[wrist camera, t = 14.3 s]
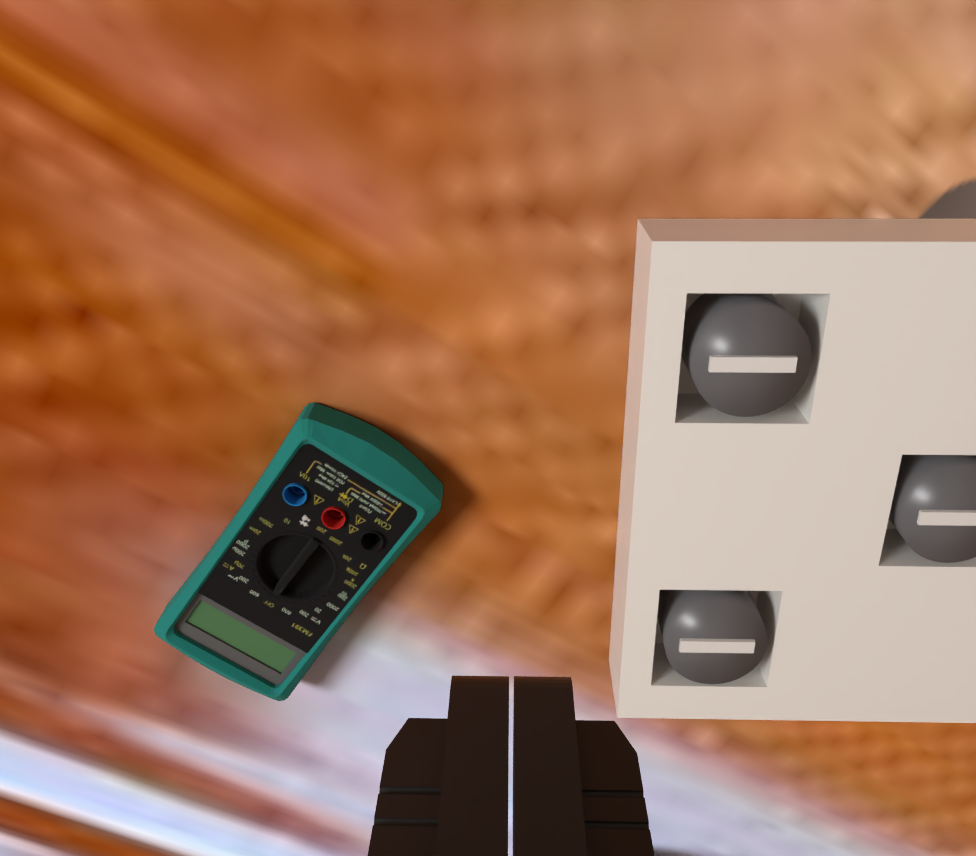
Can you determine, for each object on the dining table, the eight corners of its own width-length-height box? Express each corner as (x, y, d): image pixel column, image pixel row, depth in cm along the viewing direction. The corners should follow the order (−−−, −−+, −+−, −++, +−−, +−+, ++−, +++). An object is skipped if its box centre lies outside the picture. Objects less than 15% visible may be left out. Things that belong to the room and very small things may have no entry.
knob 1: (683, 282, 35) (699, 307, 32) (794, 282, 35) (821, 307, 32) (673, 385, 37) (688, 418, 34) (780, 385, 37) (804, 419, 34)
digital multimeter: (455, 472, 41) (451, 504, 38) (291, 675, 46) (277, 716, 43) (319, 384, 39) (305, 410, 36) (165, 606, 44) (142, 643, 42)
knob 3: (882, 432, 38) (916, 469, 35) (988, 433, 38) (1030, 470, 34) (865, 522, 39) (894, 564, 36) (965, 523, 39) (1003, 566, 36)
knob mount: (637, 218, 35) (652, 241, 32) (1072, 218, 35) (1137, 242, 31) (608, 660, 44) (617, 717, 41) (952, 665, 44) (991, 723, 40)
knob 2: (658, 560, 41) (670, 604, 37) (755, 561, 40) (775, 605, 37) (651, 638, 42) (662, 686, 39) (744, 639, 42) (762, 688, 39)
